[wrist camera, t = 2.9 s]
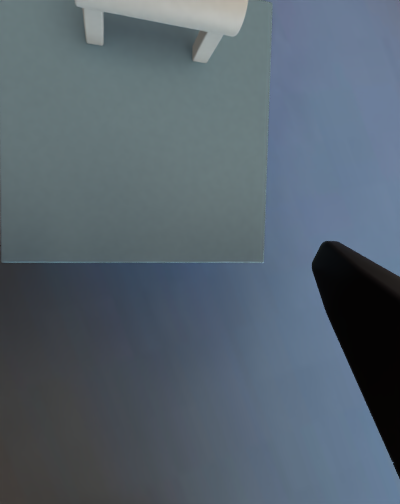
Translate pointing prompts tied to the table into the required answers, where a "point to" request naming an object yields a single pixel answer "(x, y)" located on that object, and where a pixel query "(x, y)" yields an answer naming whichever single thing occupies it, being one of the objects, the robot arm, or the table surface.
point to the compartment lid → (134, 130)
